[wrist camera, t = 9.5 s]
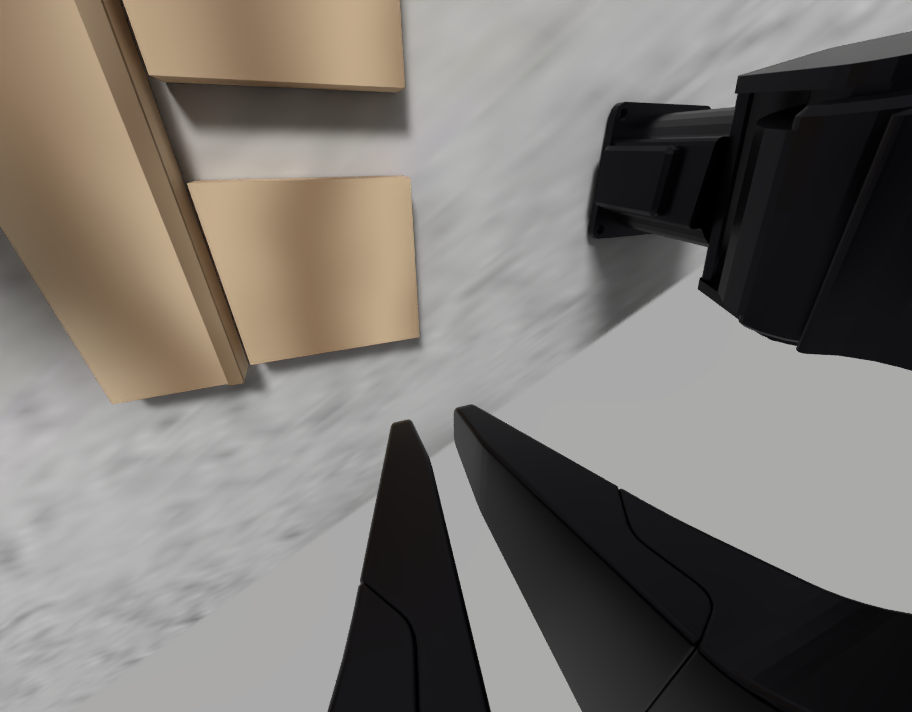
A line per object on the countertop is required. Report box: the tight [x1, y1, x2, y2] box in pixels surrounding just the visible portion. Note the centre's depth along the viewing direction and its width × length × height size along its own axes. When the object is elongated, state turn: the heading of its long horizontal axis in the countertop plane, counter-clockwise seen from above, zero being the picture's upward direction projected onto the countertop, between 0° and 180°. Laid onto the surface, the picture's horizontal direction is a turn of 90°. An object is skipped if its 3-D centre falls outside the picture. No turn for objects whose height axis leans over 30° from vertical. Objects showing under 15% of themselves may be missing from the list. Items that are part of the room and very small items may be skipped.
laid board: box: [0, 0, 248, 404], centre depth 11 cm, size 5×20×2 cm, turn 0°
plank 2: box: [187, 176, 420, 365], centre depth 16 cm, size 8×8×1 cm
